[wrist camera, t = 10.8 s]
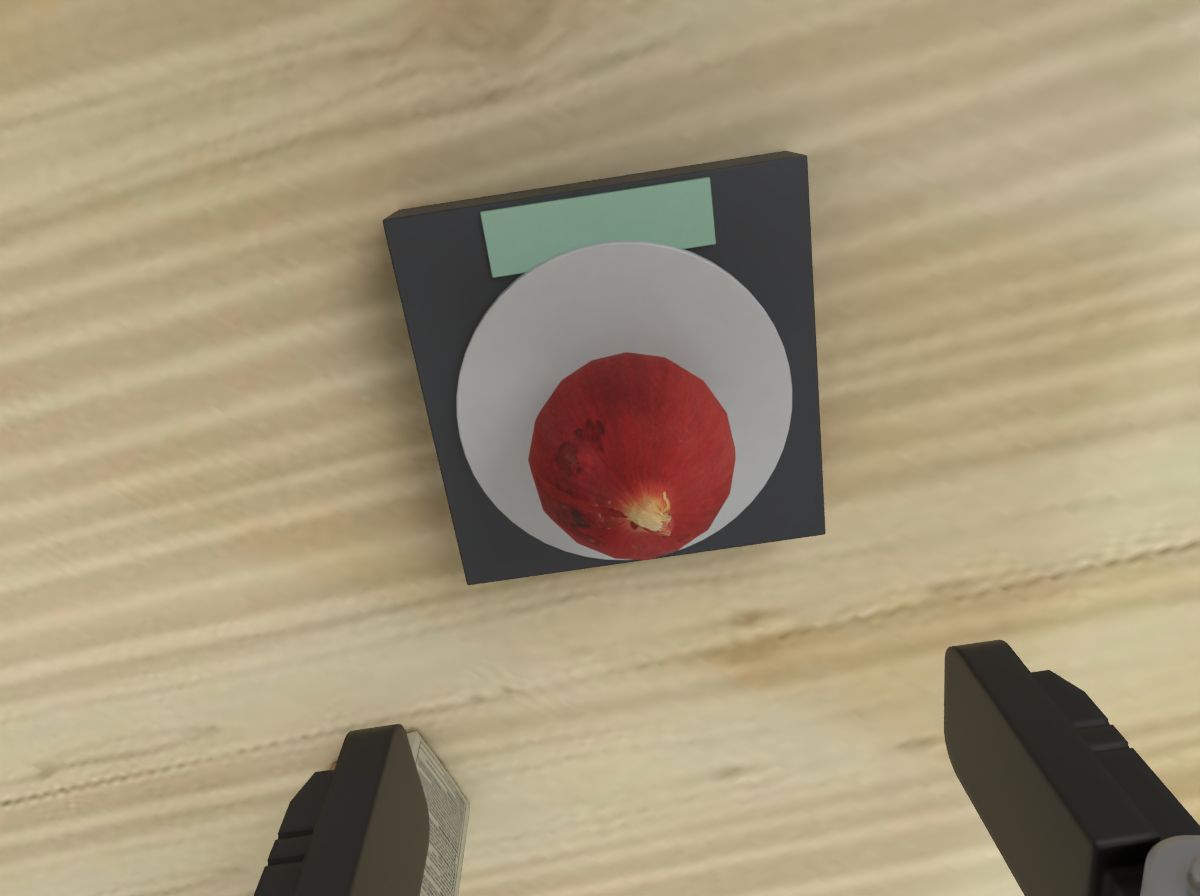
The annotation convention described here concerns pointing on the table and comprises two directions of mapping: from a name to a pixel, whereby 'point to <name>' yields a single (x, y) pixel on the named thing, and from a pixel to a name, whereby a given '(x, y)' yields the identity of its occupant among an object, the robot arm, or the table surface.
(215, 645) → the table surface
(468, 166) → the table surface
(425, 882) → the cream carton
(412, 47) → the table surface
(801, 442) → the scale
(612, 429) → the onion
